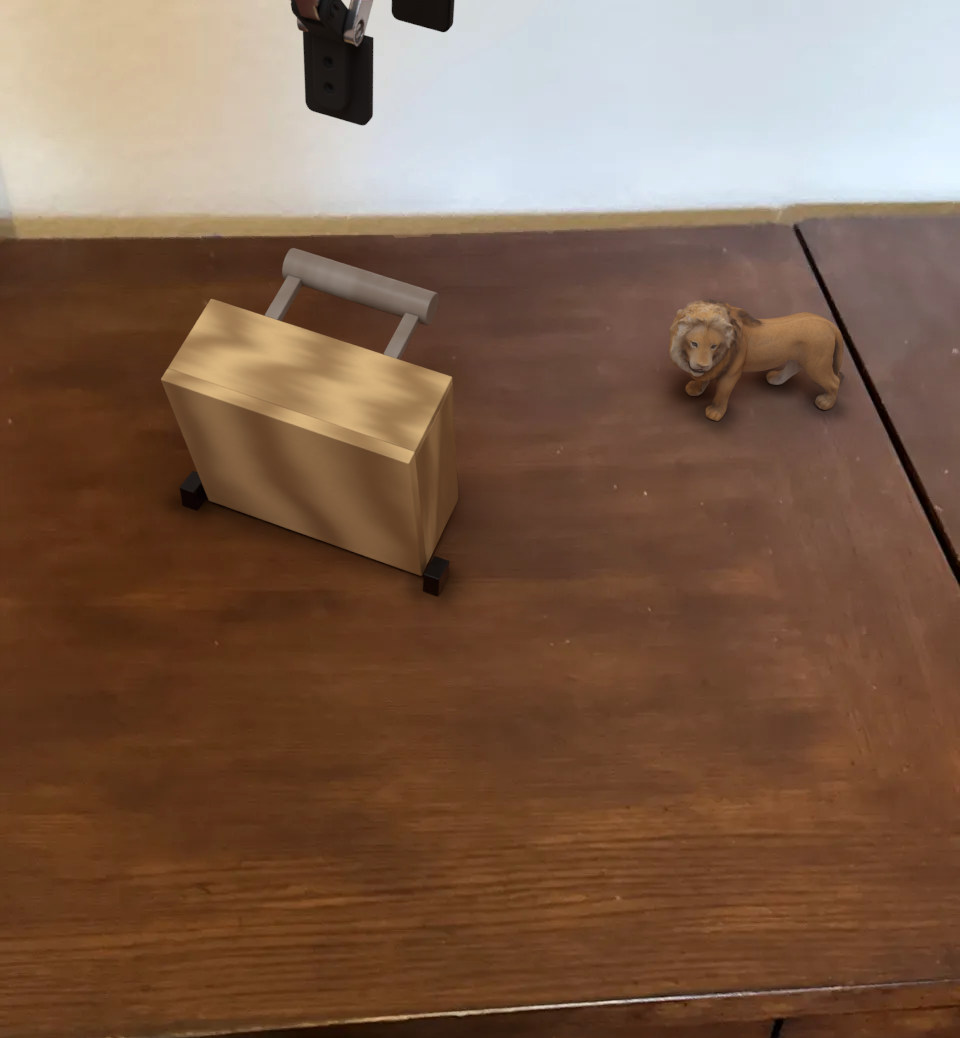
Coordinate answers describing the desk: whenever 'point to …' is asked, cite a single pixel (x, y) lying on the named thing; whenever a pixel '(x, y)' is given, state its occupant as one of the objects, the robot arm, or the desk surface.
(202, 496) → the stand
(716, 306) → the lion figurine
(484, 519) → the desk surface
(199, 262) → the desk surface
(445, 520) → the wooden box
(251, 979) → the desk surface
